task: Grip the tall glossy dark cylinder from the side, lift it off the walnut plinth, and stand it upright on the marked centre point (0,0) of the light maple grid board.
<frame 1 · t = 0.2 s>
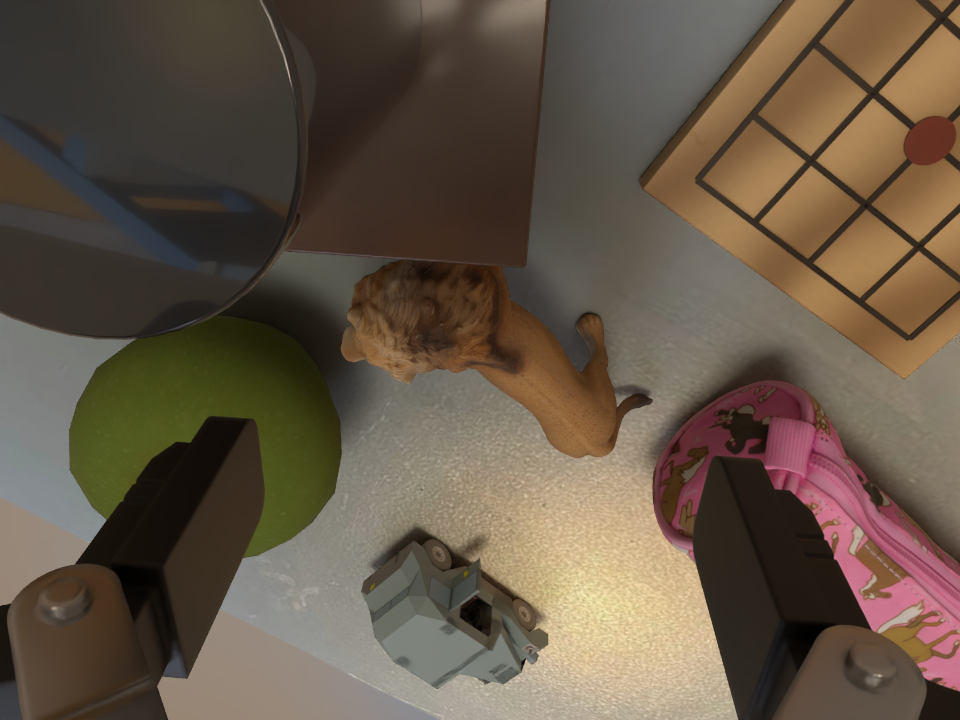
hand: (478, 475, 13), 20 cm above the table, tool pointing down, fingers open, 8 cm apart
apple: (259, 368, 36), on the table
grid board: (914, 133, 28), on the table
pencil case: (824, 508, 38), on the table
lion figurine: (511, 311, 33), on the table
toy car: (471, 578, 42), on the table
glossy dark cylinder: (299, 21, 15), point 14 cm above the table, touching walnut plinth
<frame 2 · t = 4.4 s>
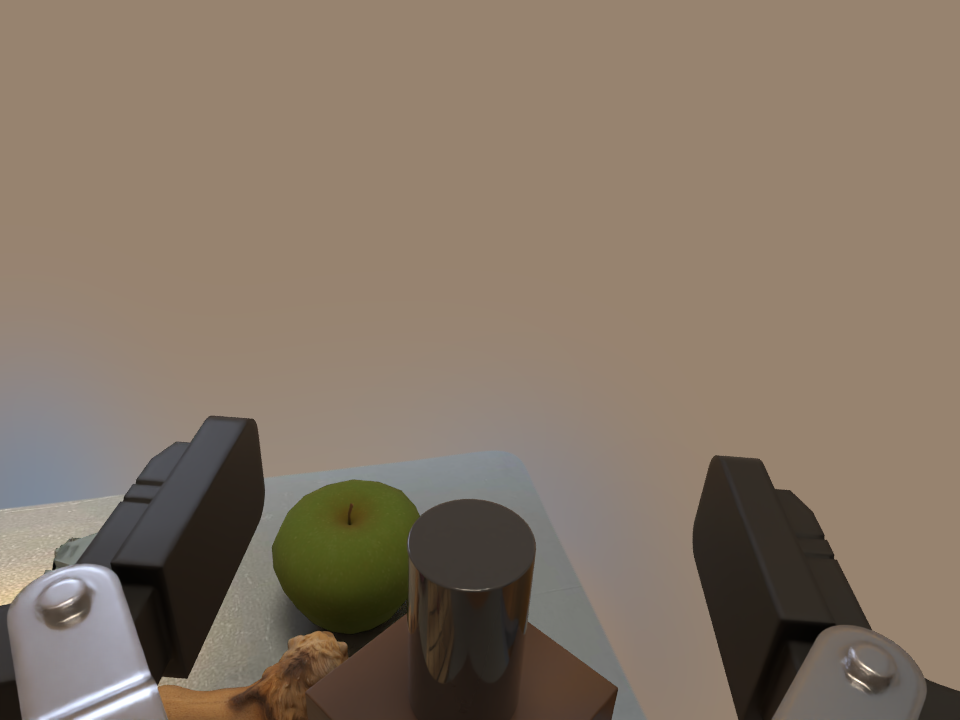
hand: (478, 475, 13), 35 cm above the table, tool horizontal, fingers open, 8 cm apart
apple: (355, 608, 54), on the table
toy car: (126, 594, 54), on the table
glossy dark cylinder: (463, 689, 33), point 14 cm above the table, touching walnut plinth
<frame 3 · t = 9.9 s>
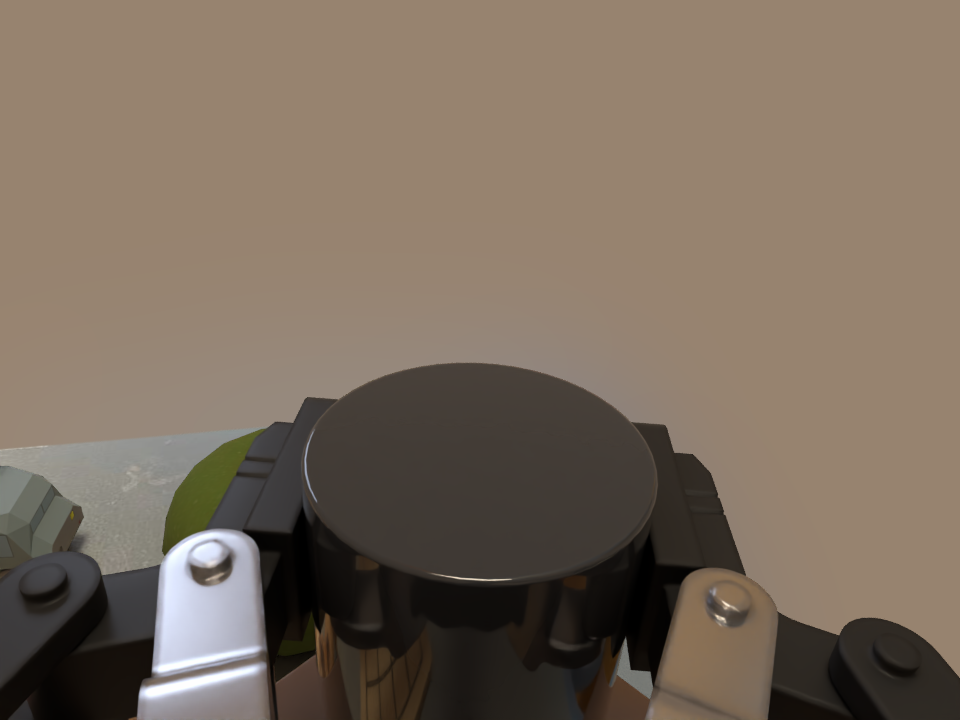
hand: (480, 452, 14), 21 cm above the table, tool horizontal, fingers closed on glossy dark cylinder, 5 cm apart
apple: (300, 616, 36), on the table
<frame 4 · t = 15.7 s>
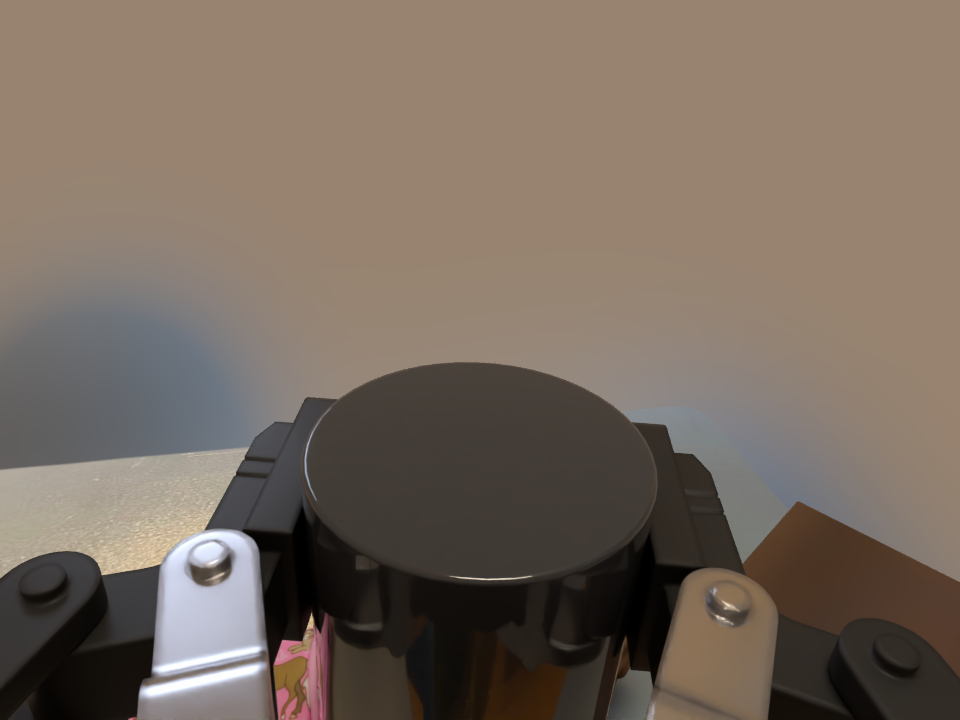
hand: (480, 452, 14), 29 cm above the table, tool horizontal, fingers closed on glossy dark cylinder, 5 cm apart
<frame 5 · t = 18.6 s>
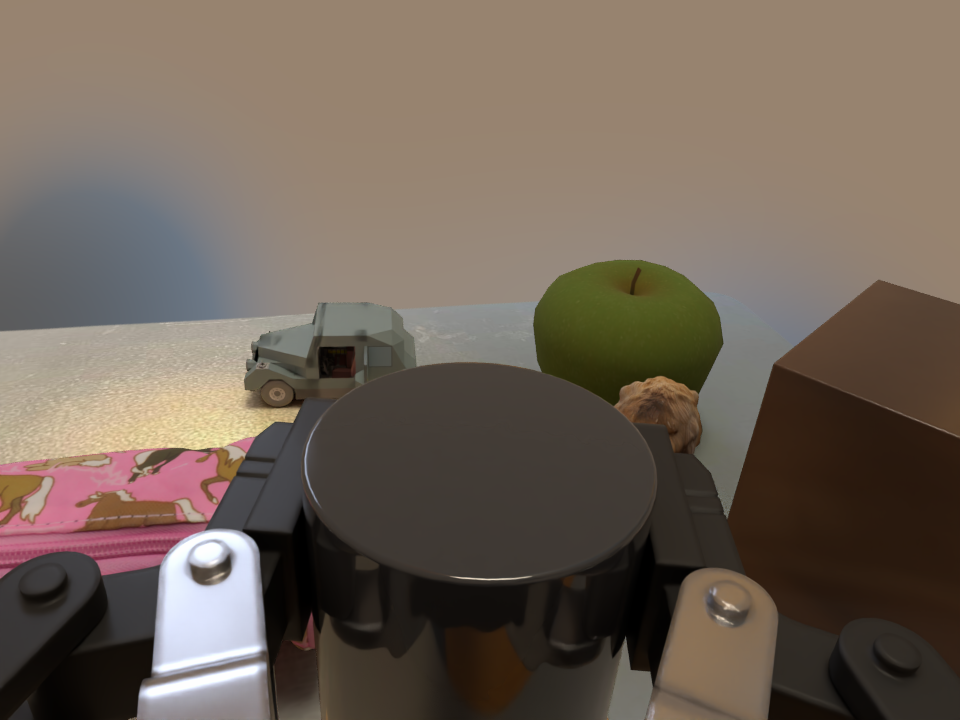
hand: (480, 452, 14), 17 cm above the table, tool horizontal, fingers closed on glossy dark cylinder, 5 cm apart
apple: (609, 420, 45), on the table
walnut plinth: (852, 655, 31), on the table
pencil case: (78, 638, 30), on the table
lion figurine: (536, 554, 35), on the table
toy car: (334, 399, 45), on the table
when the fingers open (8 cm above the table, at t = 21.3 s): glossy dark cylinder stays where it is, resting on grid board.
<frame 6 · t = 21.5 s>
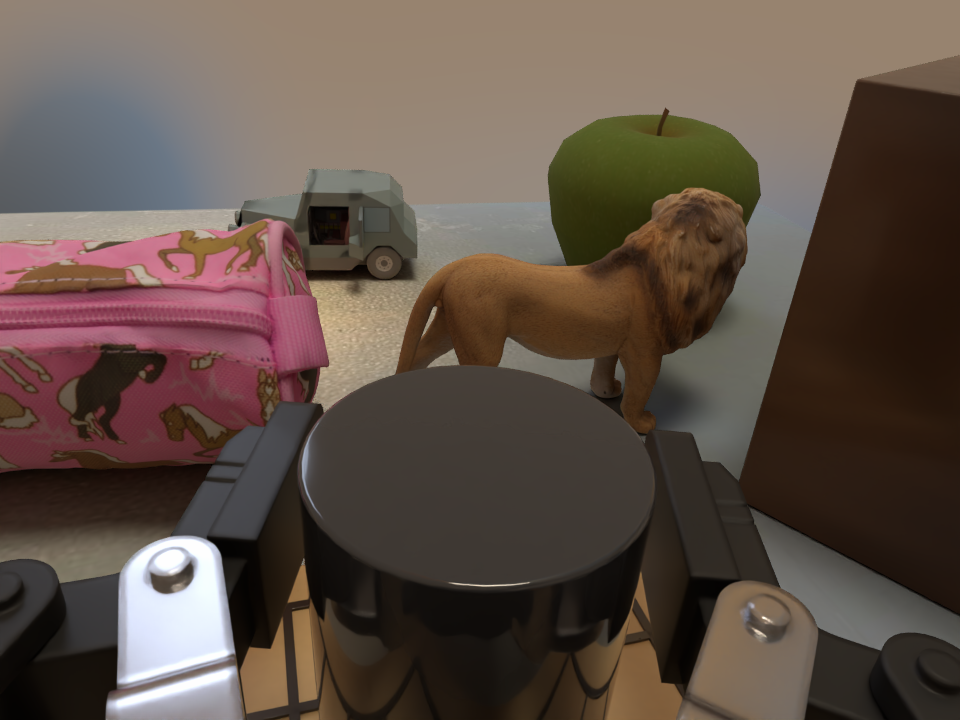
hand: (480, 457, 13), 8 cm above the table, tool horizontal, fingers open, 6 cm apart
apple: (631, 297, 41), on the table
walnut plinth: (926, 501, 26), on the table
pencil case: (20, 474, 25), on the table
lion figurine: (554, 408, 31), on the table
toy car: (326, 275, 41), on the table
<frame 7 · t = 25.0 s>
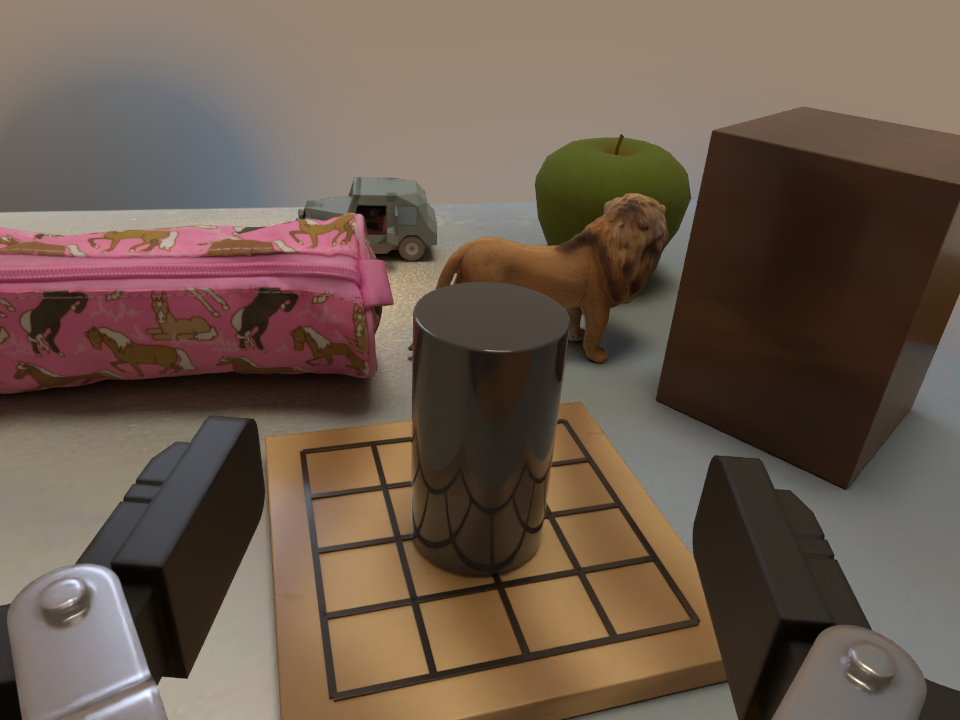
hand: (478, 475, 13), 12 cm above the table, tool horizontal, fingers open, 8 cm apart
apple: (598, 275, 54), on the table
grid board: (474, 550, 28), on the table
walnut plinth: (784, 403, 39), on the table
pencil case: (182, 381, 38), on the table
lion figurine: (537, 347, 44), on the table
toy car: (367, 258, 54), on the table
glossy dark cylinder: (476, 526, 28), point 1 cm above the table, touching grid board
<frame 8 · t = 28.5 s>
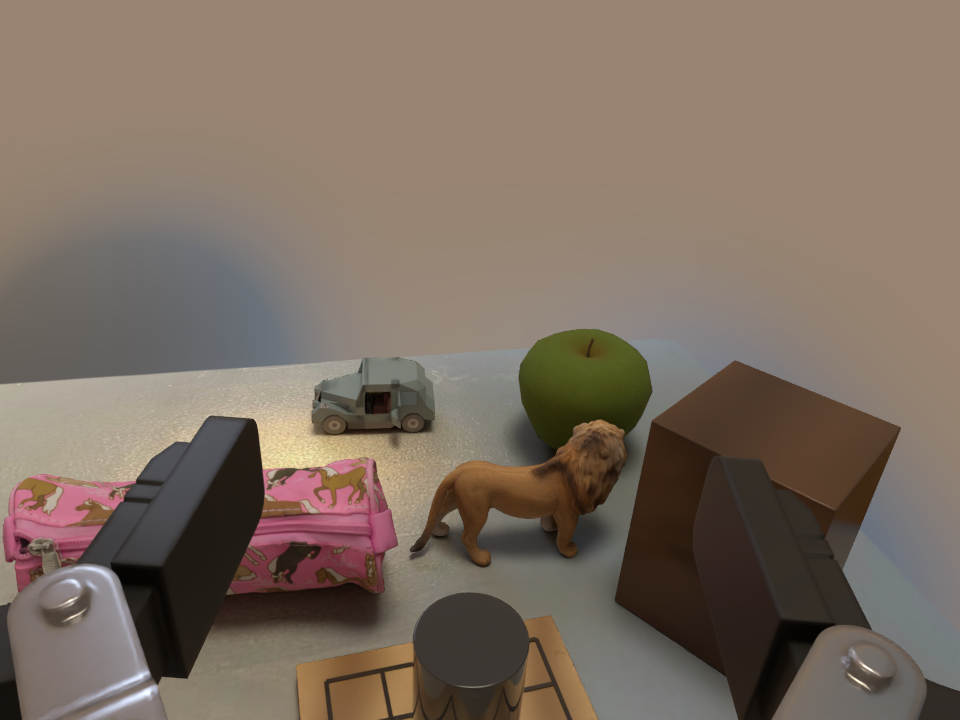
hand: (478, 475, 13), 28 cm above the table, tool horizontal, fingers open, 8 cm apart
apple: (575, 444, 62), on the table
walnut plinth: (722, 602, 47), on the table
pencil case: (224, 589, 46), on the table
lion figurine: (519, 538, 52), on the table
toy car: (374, 428, 62), on the table
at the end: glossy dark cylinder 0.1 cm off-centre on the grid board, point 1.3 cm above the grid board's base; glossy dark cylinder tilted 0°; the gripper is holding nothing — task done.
